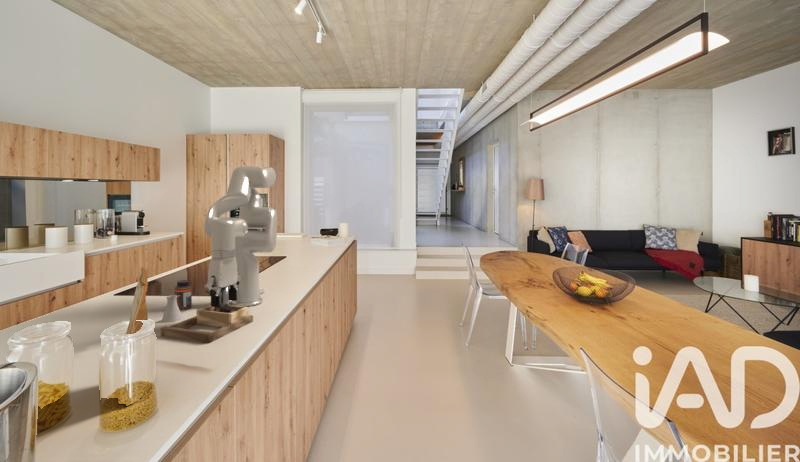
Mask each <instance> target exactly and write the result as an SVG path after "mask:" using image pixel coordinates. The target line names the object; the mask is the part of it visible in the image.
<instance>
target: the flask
mask: <svg viewBox="0 0 800 462" xmlns="http://www.w3.org/2000/svg"><path fill="white" fill-rule="evenodd" d="M177 297H178V296H176V295H175V294H174V295H167V296H166V297H165V298H166V300H167V304H166V308H165V311H164V313H163V316H162V319H161V322H163V323H174V322H179V321H181V320H183V319H184V317H183V315H182V314H183V313H182V312H181V310H179V308H178V305H177Z"/></svg>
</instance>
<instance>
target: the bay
mask: <svg viewBox="0 0 800 462" xmlns="http://www.w3.org/2000/svg"><path fill="white" fill-rule="evenodd" d="M253 322H254V315H249V314H248V316H247V317H244V318H242V319H240V320H238V321H236V322H234V323H231V324H229V325H227V326H225V327H223V328H221V327H220V328H219V329H217V330H214V331H212V332H210V331H205V330H196V329H191V328H190V327H193V326H195V325H197V315H195V316H193V317H190V318H188V319H184V320H183V321H180V322H177V323H175V324H171V325H170V326H162V327H160V337H164V338H168V339H169V338H170V339H171V338H172V339H177V340H185V341H191V342H198V343H205V344H211V343H213V342H214V341H215V342H216V341H217V340H219V339H221V338H223V337H225V336H227V335H229V334H231V333H233V332H235V331H237V330H239V329H241V328H243V327H245V326H247V325H249V324H251V323H253ZM187 328H190V329H187Z"/></svg>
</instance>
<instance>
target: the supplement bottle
mask: <svg viewBox="0 0 800 462" xmlns="http://www.w3.org/2000/svg"><path fill="white" fill-rule="evenodd" d="M174 295H176V296H178V297H177V305H178V308H179V310H180V311H184V310H189V309H190V308H192V306H193V305H192V297H193V296H192V286H191V285H190V282H189V280H188V279H181V280H178V281H177V282H176V286H175V287H174Z"/></svg>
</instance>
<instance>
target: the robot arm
mask: <svg viewBox="0 0 800 462" xmlns="http://www.w3.org/2000/svg"><path fill="white" fill-rule="evenodd" d="M276 179H277V174H276V171H275V169H274V168H273V167H271V166H254V165H253V166H251V165H250V166H249V165H246V166H244V165H243V166H238V167H236V168H234V170H233V171H232V173H231V177H230V180H229V184H228V188H227V192H226V194H225V195H223V196H222V197H220V198H219V199H218V200H216V201H215V202H214V203H213V204H212V205H211V206H210V207H209V209H208V211H207V213H206V217H205V220H204V226H203V227H204V228H203V229H204V233H205V235H207V237H209V238H210V239H211V242H210V244H211V259H209V263H208V264H209V265H208V270H207V271H208V272H207V283H206V284H205V285H204V289H205V290H206V292H207V293H208V295H209V296H210V305H211V307H220V296H219V292H220V289H221V288H224V287H227V286H229V301H231V305H234V306H244V307H252V306H257V305H260V304H262V303H263V302H264V299H263V297H261V295H263V294H265V291H266V290H264V289H260V262H259V260H258V258H257V256H256V255H255V253H257V254H258V253H261V254H262V253H264V254H265V253H267V254H268V253H272V252H274V251H275V249H276V247H277V246H276V244H277V233H278V217H279V216H278V213H277V211H276V209H274V208H273V207H270V206H269V207H267V206H264V207H263V206H262V196H261V194H260V193H259V192H258V190H257V188H258V189H259V188H260V189H267V188H272V187H273V186H274V185H275V183H276V181H277V180H276ZM237 209H239V213H238V214H239V215H238V217H221V216H222V215H224V214H226V213H228V212H230V211H234V210H237ZM248 229H250V230H248ZM251 229H255V230H251ZM256 229H259V230H256ZM261 229H262V230H261Z"/></svg>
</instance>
